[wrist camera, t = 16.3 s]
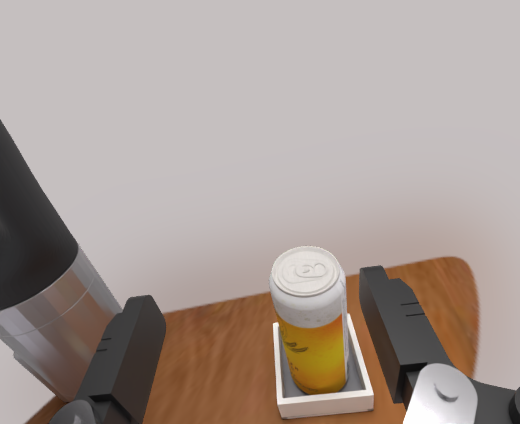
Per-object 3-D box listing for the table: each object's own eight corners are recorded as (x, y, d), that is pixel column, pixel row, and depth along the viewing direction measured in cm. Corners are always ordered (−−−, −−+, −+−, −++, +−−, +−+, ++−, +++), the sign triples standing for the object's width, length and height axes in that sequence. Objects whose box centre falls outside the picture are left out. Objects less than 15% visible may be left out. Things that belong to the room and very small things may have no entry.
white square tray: (282, 419, 30) (277, 404, 28) (277, 338, 37) (273, 323, 35) (373, 410, 29) (373, 395, 27) (350, 329, 36) (349, 313, 34)
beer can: (291, 343, 36) (270, 245, 27) (346, 343, 34) (341, 240, 26) (289, 399, 31) (262, 300, 22) (353, 402, 29) (349, 298, 21)
